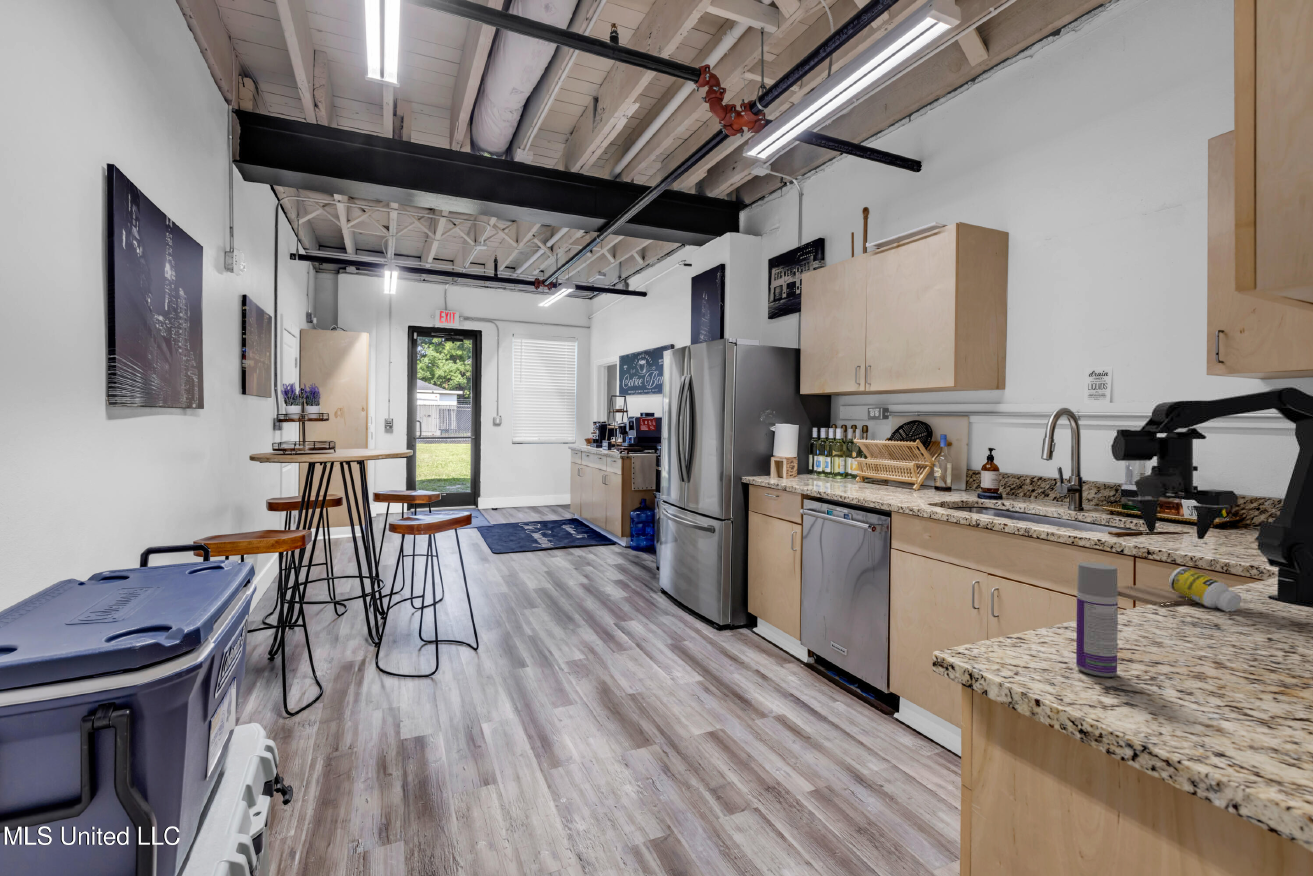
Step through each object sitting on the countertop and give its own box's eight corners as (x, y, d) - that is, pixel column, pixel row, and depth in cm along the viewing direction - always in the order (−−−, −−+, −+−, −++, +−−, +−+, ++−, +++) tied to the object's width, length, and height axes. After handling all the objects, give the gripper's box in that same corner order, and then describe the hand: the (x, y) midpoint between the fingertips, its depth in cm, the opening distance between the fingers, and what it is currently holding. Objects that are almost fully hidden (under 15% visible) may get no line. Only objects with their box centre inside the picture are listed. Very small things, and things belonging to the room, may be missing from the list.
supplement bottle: (1183, 561, 119) (1240, 585, 109) (1192, 576, 120) (1248, 602, 111) (1164, 579, 119) (1219, 604, 109) (1172, 594, 121) (1227, 621, 111)
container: (1077, 661, 87) (1078, 560, 87) (1117, 669, 84) (1118, 565, 84) (1074, 670, 83) (1075, 566, 83) (1116, 679, 80) (1117, 571, 80)
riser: (1144, 592, 128) (1144, 584, 128) (1201, 606, 117) (1201, 598, 117) (1104, 595, 125) (1104, 587, 125) (1159, 610, 115) (1159, 602, 115)
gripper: (1100, 460, 129) (1101, 530, 129) (1198, 463, 111) (1198, 545, 111) (1138, 459, 132) (1139, 528, 132) (1239, 462, 114) (1239, 542, 114)
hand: (1175, 535), depth 122 cm, fingers open, 9 cm apart
